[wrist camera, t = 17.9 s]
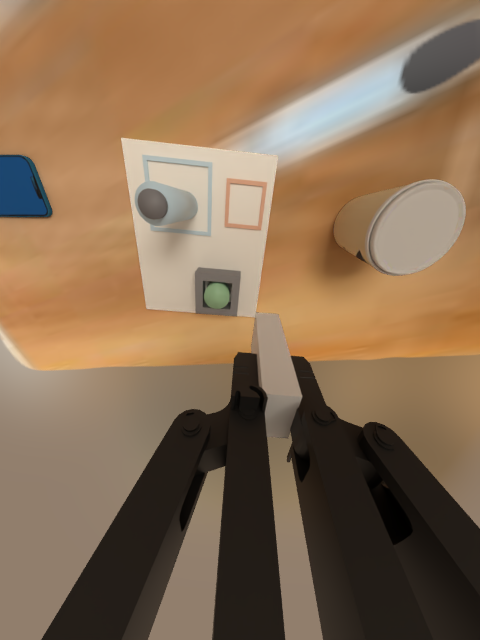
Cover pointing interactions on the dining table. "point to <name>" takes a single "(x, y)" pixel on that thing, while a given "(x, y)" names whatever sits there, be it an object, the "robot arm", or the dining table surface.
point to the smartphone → (21, 189)
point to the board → (203, 225)
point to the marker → (164, 203)
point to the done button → (217, 294)
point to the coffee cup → (402, 226)
